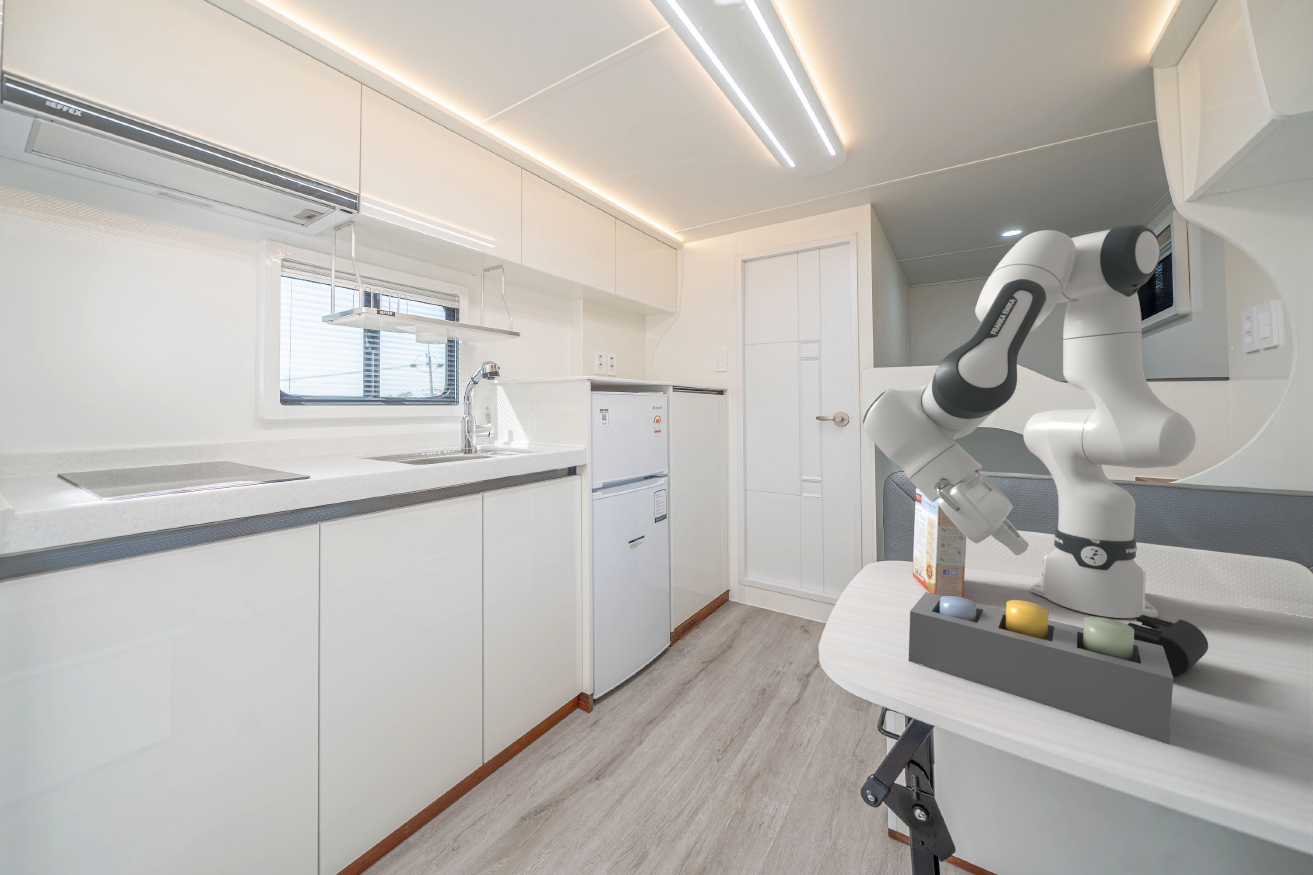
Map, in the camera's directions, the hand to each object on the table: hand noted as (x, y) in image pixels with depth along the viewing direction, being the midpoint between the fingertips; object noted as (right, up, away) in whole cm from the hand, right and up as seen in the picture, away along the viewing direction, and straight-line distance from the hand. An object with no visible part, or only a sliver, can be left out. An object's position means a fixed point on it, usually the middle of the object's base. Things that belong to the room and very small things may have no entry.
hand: (1023, 550), depth 69 cm
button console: (+1, -19, +1) cm, 19 cm away
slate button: (-6, -13, +6) cm, 15 cm away
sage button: (+7, -12, -5) cm, 15 cm away
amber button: (+1, -12, 0) cm, 12 cm away
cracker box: (+9, -17, +36) cm, 41 cm away
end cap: (+24, -19, +4) cm, 31 cm away
